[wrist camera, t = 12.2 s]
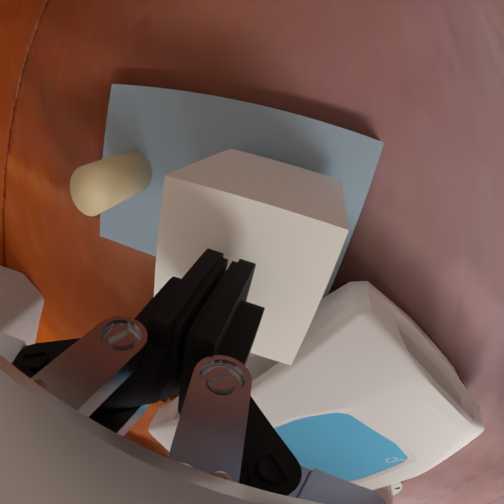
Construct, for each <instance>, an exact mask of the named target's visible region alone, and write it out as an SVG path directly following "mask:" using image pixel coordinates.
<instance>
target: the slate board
mask: <svg viewBox="0 0 504 504" xmlns="http://www.w3.org/2000/svg"><path fill="white" fill-rule="evenodd" d="M383 145H384V142H382V141H380V140H377V139H375V138H372V137H369V136H366V135H363V134H361V133H358V132H355V131H352V130H349V129H346V128H343V127H340V126H336V125H333V124H330V123H327V122H324V121H320V120H317V119H313V118H310V117H306V116H303V115H299V114H295V113H292V112H288V111H284V110H280V109H276V108H272V107H268V106H263V105H259V104H255V103H250V102H245V101H241V100H236V99H231V98H225V97H220V96H214V95H209V94H203V93H196V92H190V91H183V90H176V89H168V88H159V87H150V86H140V85H128V84H112V86H111V92H110V98H109V105H108V113H107V120H106V129H105V138H104V148H103V159H102V160H99V161H96V162H93V163H90V164H87V165H83V166H81V167H79V168H77V169H76V170H75V171H74V173H73V174H72V177H71V180H70V193H71V197H72V200H73V202H74V204H75V205H76V207H77V208H78V209H79V210H80V211H81V212H82V213H84V214H85V215H88V216H96V215H98V214H100V236H101V237H104V238H107V239H109V240H112V241H115V242H117V243H120V244H123V245H125V246H128V247H131V248H133V249H136V250H139V251H141V252H144V253H147V254H150V255H152V256H155V257H156V253H157V241H158V230H159V220H160V211H161V202H162V194H163V186H164V178H165V175H167V174H169V173H172V172H174V171H176V170H179V169H181V168H183V167H186V166H188V165H190V164H193V163H195V162H198V161H200V160H202V159H205V158H207V157H210V156H212V155H215V154H217V153H220V152H223V151H225V150H228V149H230V148H231V149H235V150H239V151H243V152H247V153H251V154H254V155H258V156H262V157H265V158H269V159H273V160H276V161H280V162H283V163H287V164H290V165H294V166H297V167H300V168H304V169H307V170H310V171H313V172H317V173H320V174H323V175H326V176H329V177H332V178H335V179H338V180H341V181H342V186H343V193H344V199H345V206H346V213H347V220H348V228H349V231H348V234H347V236H346V239H345V242H344V244H343V247H342V249H341V252H340V255H339V257H338V260H337V262H336V265H335V267H334V270H333V272H332V275H331V277H330V279H329V282H328V284H327V287H326V289H325V291H324V294H323V296H322V298H323V297H325V296H327V295H328V293H329V291H330V289H331V286H332V284H333V282H334V279H335V277H336V274H337V272H338V269H339V267H340V265H341V262H342V260H343V257H344V255H345V252H346V250H347V247H348V245H349V242H350V239H351V237H352V234H353V232H354V229H355V226H356V224H357V221H358V218H359V215H360V213H361V210H362V207H363V204H364V202H365V199H366V196H367V193H368V190H369V187H370V184H371V182H372V179H373V176H374V173H375V170H376V167H377V164H378V160H379V157H380V154H381V151H382V148H383Z"/></svg>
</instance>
